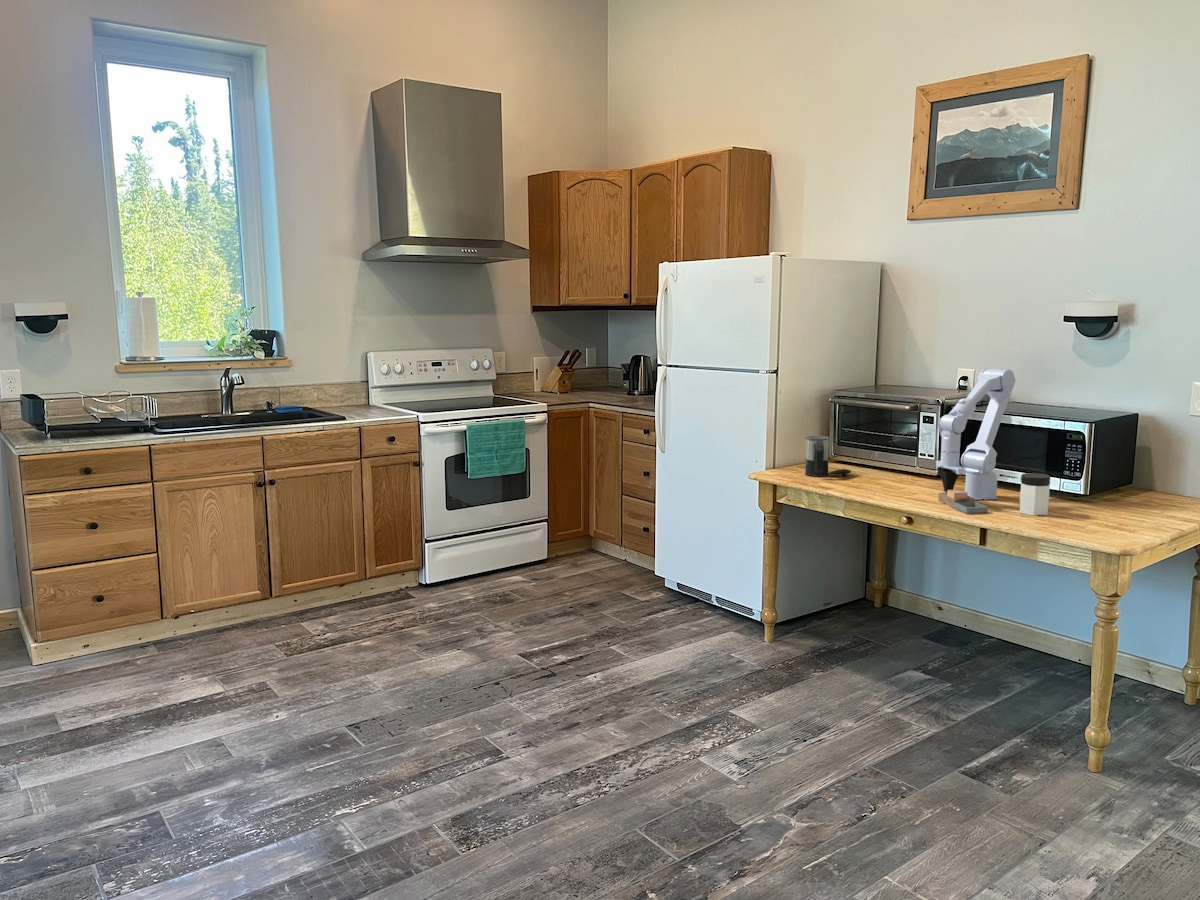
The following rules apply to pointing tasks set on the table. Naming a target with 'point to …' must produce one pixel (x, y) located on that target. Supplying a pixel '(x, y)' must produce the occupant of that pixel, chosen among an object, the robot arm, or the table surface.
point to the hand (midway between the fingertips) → (948, 491)
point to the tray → (971, 507)
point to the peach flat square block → (957, 494)
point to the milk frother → (819, 457)
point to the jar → (1034, 494)
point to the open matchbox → (951, 501)
